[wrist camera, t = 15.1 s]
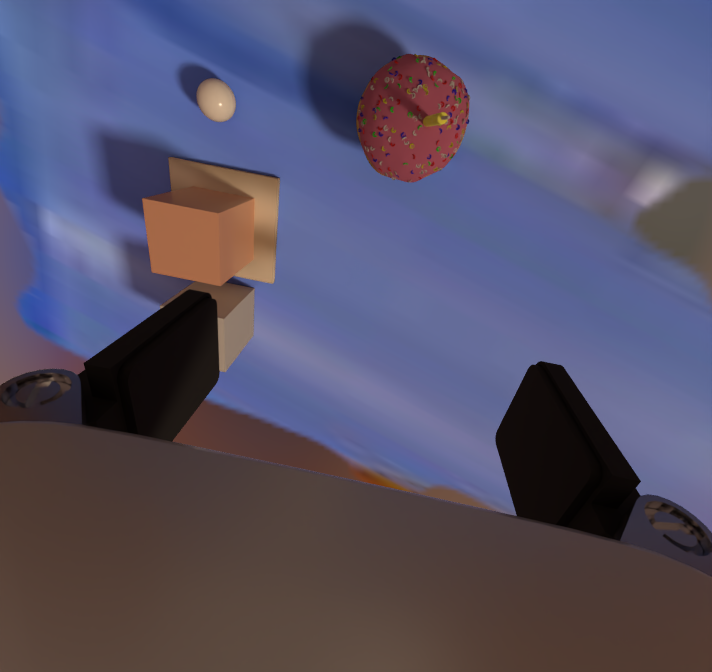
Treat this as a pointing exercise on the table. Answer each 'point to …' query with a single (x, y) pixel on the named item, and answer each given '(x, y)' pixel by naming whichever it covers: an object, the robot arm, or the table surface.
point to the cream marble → (216, 100)
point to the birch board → (243, 185)
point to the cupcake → (412, 117)
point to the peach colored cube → (199, 234)
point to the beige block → (229, 317)
